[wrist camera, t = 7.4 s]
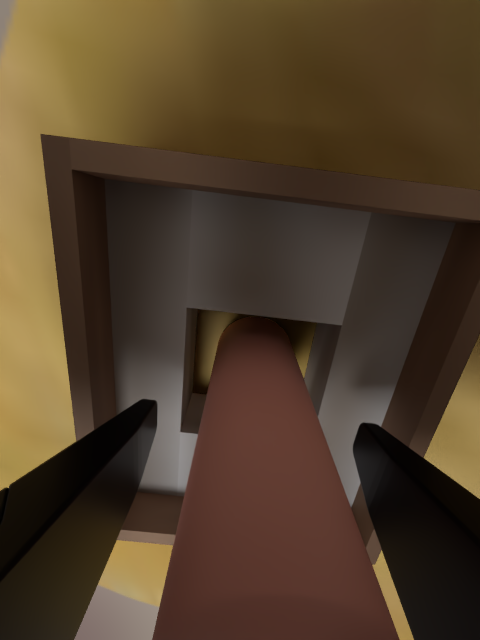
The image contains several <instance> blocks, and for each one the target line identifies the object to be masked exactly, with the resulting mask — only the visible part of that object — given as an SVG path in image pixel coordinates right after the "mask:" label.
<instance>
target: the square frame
mask: <svg viewBox="0 0 480 640" xmlns="http://www.w3.org/2000/svg"><path fill="white" fill-rule="evenodd" d="M41 142H42V151H43V160H44V168H45V177H46V185H47V194H48V202H49V211H50V220H51V228H52V237H53V245H54V254H55V262H56V271H57V280H58V288H59V297H60V305H61V314H62V322H63V331H64V340H65V348H66V357H67V365H68V374H69V382H70V391H71V400H72V408H73V417H74V425H75V434H76V441H78V440H79V439H81V438H82V437H84V436H85V435H87V434H88V433H90V432H92V431H93V430H95V429H96V428H98V427H99V426H101V425H102V424H104V423H105V422H107V421H108V420H110V419H111V418H113V417H115V416H116V415H118V414H119V413H121V412H122V411H124V410H125V409H127V408H128V407H130V406H131V405H133V404H135V403H136V402H138V401H139V400H141V399H151V400H156V401H157V404H158V414H157V430H156V434H155V437H154V440H153V444H152V447H151V450H150V453H149V457H148V460H147V463H146V466H145V470H144V473H143V476H142V479H141V482H140V485H139V488H138V491H137V493H136V496H135V498H134V501H133V503H132V505H131V508H130V510H129V512H128V515H127V517H126V519H125V522H124V524H123V526H122V529H121V531H120V533H119V536H118V538H117V540H123V541H133V542H144V543H154V544H165V545H173V544H174V540H175V535H176V531H177V526H178V522H179V517H180V513H181V508H182V504H183V499H184V495H185V490H186V486H187V481H188V477H189V472H190V468H191V464H192V459H193V455H194V450H195V446H196V441H197V437H198V432H199V428H200V423H201V419H202V414H203V410H204V405H205V401H206V396H207V395H205V394H196V393H192V390H193V375H194V360H195V344H196V329H197V314H198V309H205V310H213V311H222V312H231V313H239V314H248V315H257V316H265V317H274V318H283V319H291V320H300V321H309V322H317V325H316V329H315V334H314V338H313V343H312V347H311V351H310V356H309V360H308V364H307V369H306V373H305V378H304V381H305V384H306V387H307V389H308V392H309V395H310V398H311V400H312V403H313V406H314V408H315V411H316V414H317V417H318V419H319V422H320V425H321V427H322V430H323V433H324V436H325V438H326V441H327V444H328V447H329V449H330V452H331V455H332V457H333V460H334V463H335V466H336V468H337V471H338V474H339V476H340V479H341V482H342V485H343V487H344V490H345V493H346V496H347V498H348V501H349V504H350V506H351V509H352V512H353V515H354V517H355V520H356V523H357V525H358V528H359V531H360V534H361V536H362V539H363V542H364V545H365V547H366V550H367V553H368V555H369V558H370V561H371V564H374V565H375V563H376V561H377V559H378V556H379V554H380V552H381V550H382V549H381V546H380V543H379V541H378V538H377V535H376V532H375V530H374V527H373V524H372V521H371V518H370V515H369V512H368V509H367V505H366V502H365V498H364V494H363V490H362V487H361V483H360V479H359V475H358V471H357V467H356V463H355V459H354V455H353V443H354V440H355V437H356V434H357V431H358V428H359V425H360V424H361V423H363V422H366V423H375V424H377V425H379V426H380V427H382V428H383V429H384V430H386V431H387V432H389V433H390V434H391V435H393V436H394V437H395V438H397V439H398V440H399V441H401V442H402V443H404V444H405V445H406V446H408V447H409V448H410V449H412V450H413V451H415V452H416V453H417V454H419V455H420V456H421V457H423V458H424V455H425V453H426V451H427V449H428V447H429V444H430V442H431V440H432V438H433V436H434V433H435V431H436V429H437V427H438V425H439V422H440V420H441V418H442V416H443V414H444V411H445V409H446V407H447V405H448V403H449V400H450V398H451V396H452V394H453V392H454V389H455V387H456V385H457V383H458V381H459V378H460V376H461V374H462V372H463V370H464V367H465V365H466V363H467V361H468V359H469V356H470V354H471V352H472V350H473V348H474V345H475V343H476V341H477V339H478V337H479V334H480V190H474V189H466V188H459V187H451V186H443V185H435V184H427V183H419V182H412V181H404V180H396V179H388V178H380V177H373V176H365V175H357V174H349V173H341V172H334V171H326V170H318V169H310V168H302V167H294V166H287V165H279V164H271V163H263V162H255V161H248V160H240V159H232V158H224V157H216V156H209V155H201V154H193V153H185V152H177V151H169V150H162V149H154V148H146V147H138V146H130V145H123V144H115V143H107V142H99V141H91V140H84V139H76V138H68V137H60V136H52V135H44V134H41Z"/></svg>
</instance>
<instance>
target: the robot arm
mask: <svg viewBox="0 0 480 640" xmlns="http://www.w3.org/2000/svg"><path fill="white" fill-rule="evenodd" d="M157 414H158V404H157V401H156V400H151V399H141V400H139V401H138V402H136V403H135V404H133V405H131V406H130V407H128V408H127V409H125V410H124V411H122V412H121V413H119V414H118V415H116V416H115V417H113V418H111V419H110V420H108V421H107V422H105V423H104V424H102V425H101V426H99V427H98V428H96V429H95V430H93V431H92V432H90V433H88V434H87V435H85V436H84V437H82V438H81V439H79V440H78V441H76V442H75V443H73V444H72V445H70V446H69V447H67V448H65V449H64V450H62V451H61V452H59V453H58V454H56V455H55V456H53V457H52V458H50V459H49V460H47V461H46V462H44V463H42V464H41V465H39V466H38V467H36V468H35V469H33V470H32V471H30V472H29V473H27V474H26V475H24V476H22V477H21V478H19V479H18V480H16V481H15V482H13V483H12V484H10V486H9V488H4V489H2V490H1V491H0V640H74V638H75V636H76V634H77V632H78V629H79V627H80V625H81V622H82V620H83V618H84V615H85V613H86V610H87V608H88V605H89V604H90V601H91V599H92V596H93V594H94V592H95V590H96V587H97V585H98V583H99V580H100V578H101V575H102V573H103V571H104V568H105V566H106V564H107V561H108V559H109V557H110V554H111V552H112V550H113V547H114V545H115V543H116V540H117V538H118V536H119V533H120V531H121V529H122V526H123V524H124V522H125V519H126V517H127V515H128V512H129V510H130V508H131V505H132V503H133V501H134V498H135V496H136V493H137V491H138V488H139V485H140V482H141V479H142V476H143V473H144V470H145V466H146V463H147V460H148V457H149V453H150V450H151V447H152V444H153V440H154V437H155V434H156V430H157ZM353 455H354V459H355V463H356V467H357V471H358V475H359V479H360V483H361V487H362V490H363V494H364V498H365V502H366V505H367V509H368V512H369V515H370V518H371V521H372V524H373V527H374V530H375V532H376V535H377V538H378V541H379V543H380V546H381V549H382V552H383V554H384V557H385V560H386V563H387V566H388V568H389V571H390V574H391V577H392V579H393V582H394V585H395V588H396V591H397V593H398V596H399V599H400V602H401V604H402V607H403V610H404V613H405V616H406V618H407V621H408V624H409V627H410V629H411V632H412V635H413V638H414V640H480V499H479V498H477V497H476V496H475V495H473V494H472V493H471V492H469V491H468V490H466V489H465V488H464V487H462V486H461V485H460V484H458V483H457V482H456V481H454V480H453V479H451V478H450V477H449V476H447V475H446V474H445V473H443V472H442V471H440V470H439V469H438V468H436V467H435V466H434V465H432V464H431V463H430V462H428V461H427V460H425V459H424V458H423V457H421V456H420V455H419V454H417V453H416V452H415V451H413V450H412V449H410V448H409V447H408V446H406V445H405V444H404V443H402V442H401V441H399V440H398V439H397V438H395V437H394V436H393V435H391V434H390V433H389V432H387V431H386V430H384V429H383V428H382V427H380V426H379V425H377V424H375V423H366V422H363V423H361V424H360V425H359V428H358V431H357V434H356V437H355V440H354V443H353Z"/></svg>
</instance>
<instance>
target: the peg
mask: <svg viewBox="0 0 480 640" xmlns="http://www.w3.org/2000/svg"><path fill="white" fill-rule="evenodd" d="M152 640H399V637H398V634H397V632H396V629H395V626H394V624H393V621H392V618H391V615H390V613H389V610H388V607H387V604H386V602H385V599H384V596H383V594H382V591H381V588H380V585H379V583H378V580H377V577H376V574H375V572H374V569H373V566H372V564H371V561H370V558H369V555H368V553H367V550H366V547H365V545H364V542H363V539H362V536H361V534H360V531H359V528H358V525H357V523H356V520H355V517H354V515H353V512H352V509H351V506H350V504H349V501H348V498H347V496H346V493H345V490H344V487H343V485H342V482H341V479H340V476H339V474H338V471H337V468H336V466H335V463H334V460H333V457H332V455H331V452H330V449H329V447H328V444H327V441H326V438H325V436H324V433H323V430H322V427H321V425H320V422H319V419H318V417H317V414H316V411H315V408H314V406H313V403H312V400H311V398H310V395H309V392H308V389H307V387H306V384H305V381H304V378H303V376H302V373H301V370H300V368H299V365H298V362H297V359H296V357H295V354H294V351H293V349H292V346H291V343H290V340H289V338H288V336H287V334H286V332H285V331H284V330H283V328H282V327H281V326H279V325H278V324H277V323H275V322H274V321H272V320H270V319H267V318H263V317H246V318H242V319H239V320H237V321H235V322H234V323H232V324H231V325H229V326H228V327H227V328H226V329H225V330H224V332H223V333H222V335H221V337H220V339H219V342H218V347H217V351H216V356H215V360H214V365H213V369H212V374H211V378H210V383H209V387H208V392H207V396H206V401H205V405H204V410H203V414H202V419H201V423H200V428H199V432H198V437H197V441H196V446H195V450H194V455H193V459H192V464H191V468H190V472H189V477H188V481H187V486H186V490H185V495H184V499H183V504H182V508H181V513H180V517H179V522H178V526H177V531H176V535H175V540H174V544H173V549H172V553H171V558H170V562H169V567H168V571H167V576H166V580H165V585H164V589H163V594H162V598H161V603H160V607H159V612H158V616H157V621H156V626H155V630H154V634H153V639H152Z"/></svg>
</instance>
